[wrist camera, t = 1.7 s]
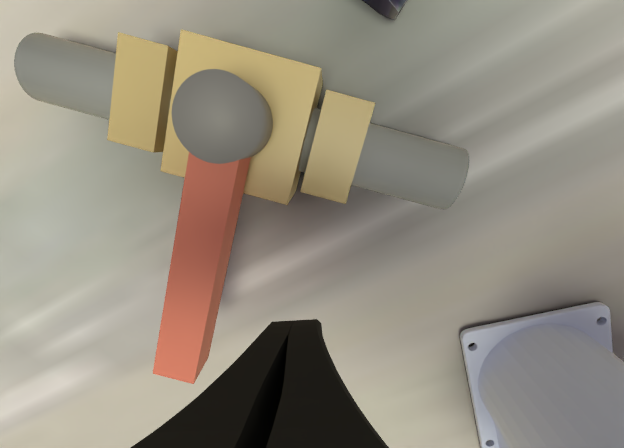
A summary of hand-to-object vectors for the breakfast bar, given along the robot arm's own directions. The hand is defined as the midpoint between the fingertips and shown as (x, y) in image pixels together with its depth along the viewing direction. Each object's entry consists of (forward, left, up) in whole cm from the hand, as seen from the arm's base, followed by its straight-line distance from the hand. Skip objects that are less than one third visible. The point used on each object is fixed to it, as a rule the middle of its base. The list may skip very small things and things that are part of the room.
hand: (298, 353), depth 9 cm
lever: (+3, +4, -6) cm, 7 cm away
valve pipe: (+7, +1, -10) cm, 12 cm away
